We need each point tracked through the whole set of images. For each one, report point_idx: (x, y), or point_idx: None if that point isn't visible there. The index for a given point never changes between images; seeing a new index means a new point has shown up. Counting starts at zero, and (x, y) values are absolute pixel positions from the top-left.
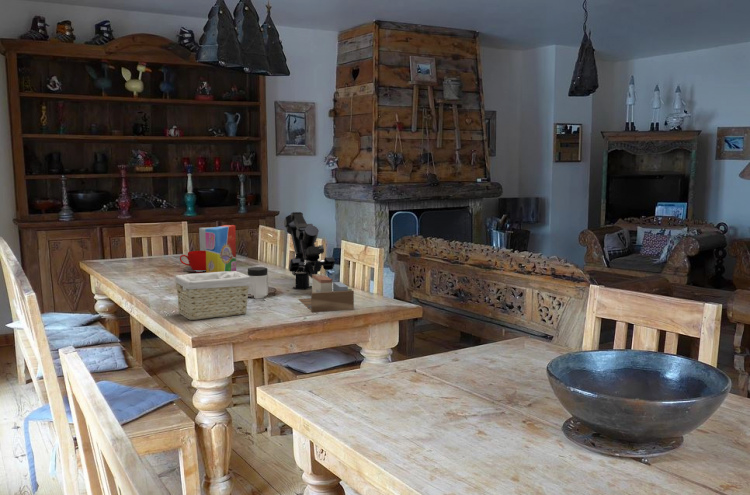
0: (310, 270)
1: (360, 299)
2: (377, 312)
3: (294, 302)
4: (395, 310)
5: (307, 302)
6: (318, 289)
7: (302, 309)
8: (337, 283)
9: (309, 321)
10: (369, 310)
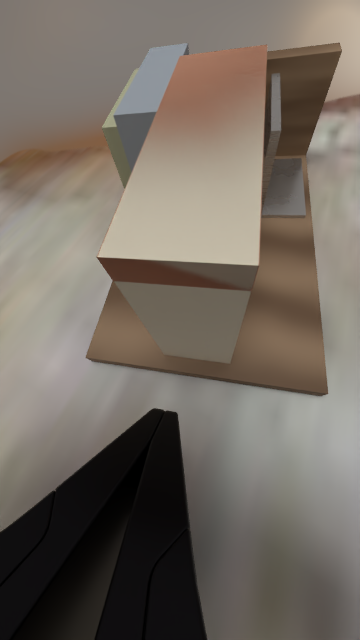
0: (194, 627)
1: (12, 309)
2: (106, 149)
3: (348, 379)
4: (53, 157)
5: (286, 283)
6: (271, 123)
7: (324, 225)
8: (155, 89)
9: (326, 109)
10: (109, 168)
